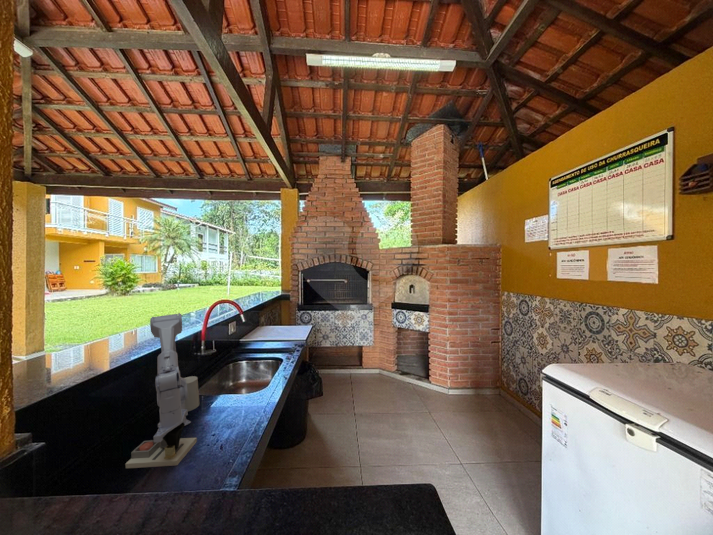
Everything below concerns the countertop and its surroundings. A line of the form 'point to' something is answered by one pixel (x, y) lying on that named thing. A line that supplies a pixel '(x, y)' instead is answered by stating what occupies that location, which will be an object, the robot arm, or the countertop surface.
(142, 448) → the red button
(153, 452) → the panel
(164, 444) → the grey slider knob
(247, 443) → the countertop surface
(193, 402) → the cup
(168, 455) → the yellow slider knob
